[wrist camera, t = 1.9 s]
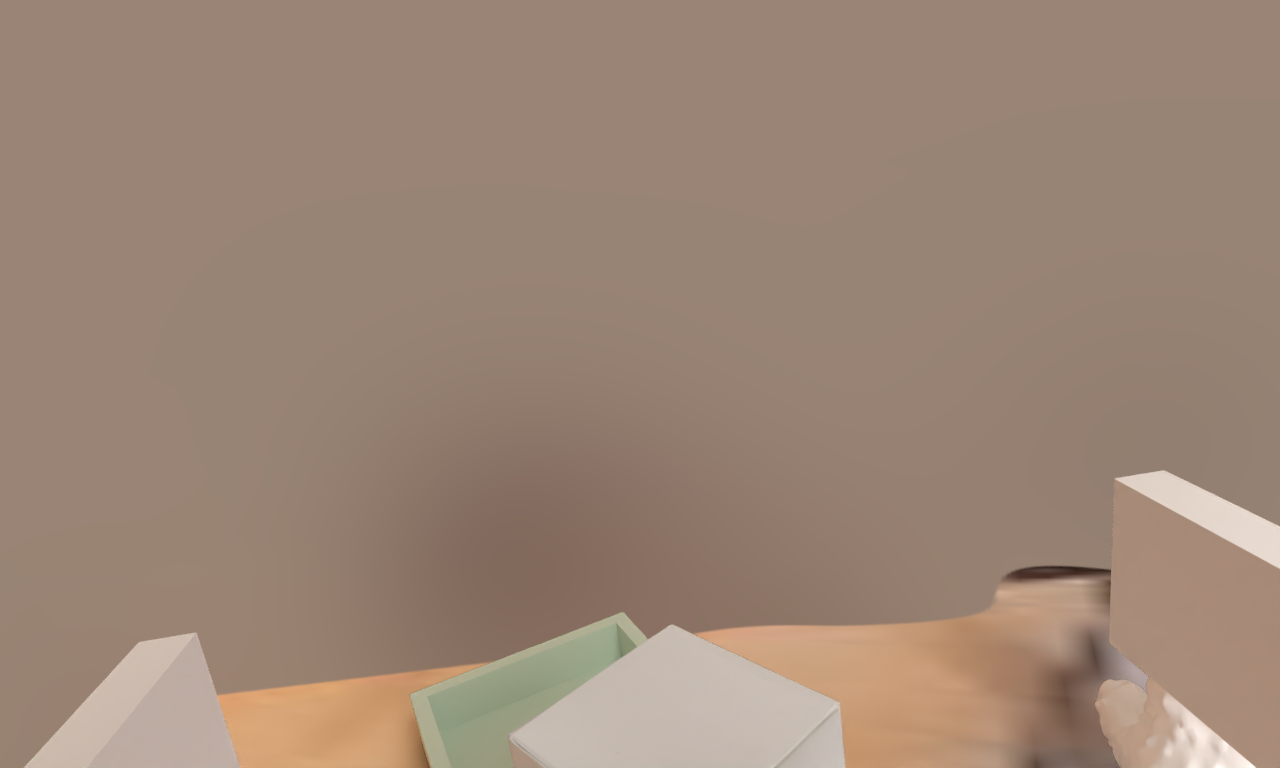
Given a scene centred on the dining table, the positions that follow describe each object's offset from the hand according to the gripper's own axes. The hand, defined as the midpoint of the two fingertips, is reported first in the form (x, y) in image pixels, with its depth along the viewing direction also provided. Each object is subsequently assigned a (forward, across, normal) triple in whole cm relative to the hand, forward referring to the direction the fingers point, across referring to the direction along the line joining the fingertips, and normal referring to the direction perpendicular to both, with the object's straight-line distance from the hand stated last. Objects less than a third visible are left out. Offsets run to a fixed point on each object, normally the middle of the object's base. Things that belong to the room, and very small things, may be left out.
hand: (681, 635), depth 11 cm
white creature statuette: (+14, +22, -22) cm, 34 cm away
